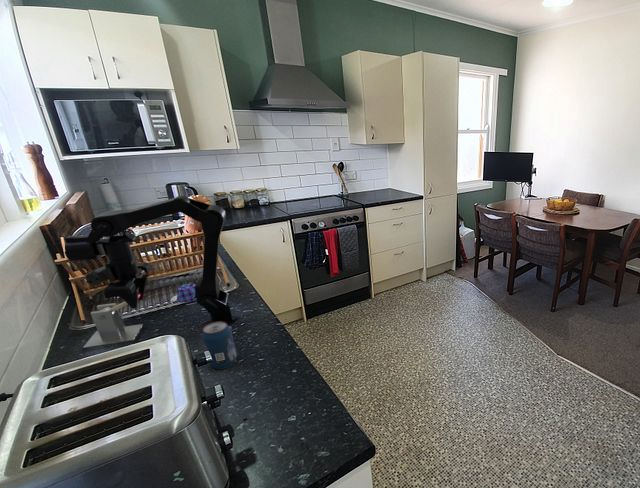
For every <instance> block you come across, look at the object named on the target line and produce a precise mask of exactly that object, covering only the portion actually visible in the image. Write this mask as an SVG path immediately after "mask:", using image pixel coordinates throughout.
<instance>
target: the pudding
mask: <svg viewBox="0 0 640 488" xmlns="http://www.w3.org/2000/svg"><path fill="white" fill-rule="evenodd" d="M195 285H196V283H185V284H182V285H180V286H179V287H178V288H177V289H176V295H174V296H172V297H171V299H170V303H171V304H172V305H175V306H176V303H173V302H172V301H178V302H179V303H187V306H188V305H190V303H191V302H193V303H191V305H192V304H193V305H194V302H195V301H196V302H195V304H198V303H197V300H196V298H194V296H195V294H196V293H195ZM188 303H189V304H188Z"/></svg>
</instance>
